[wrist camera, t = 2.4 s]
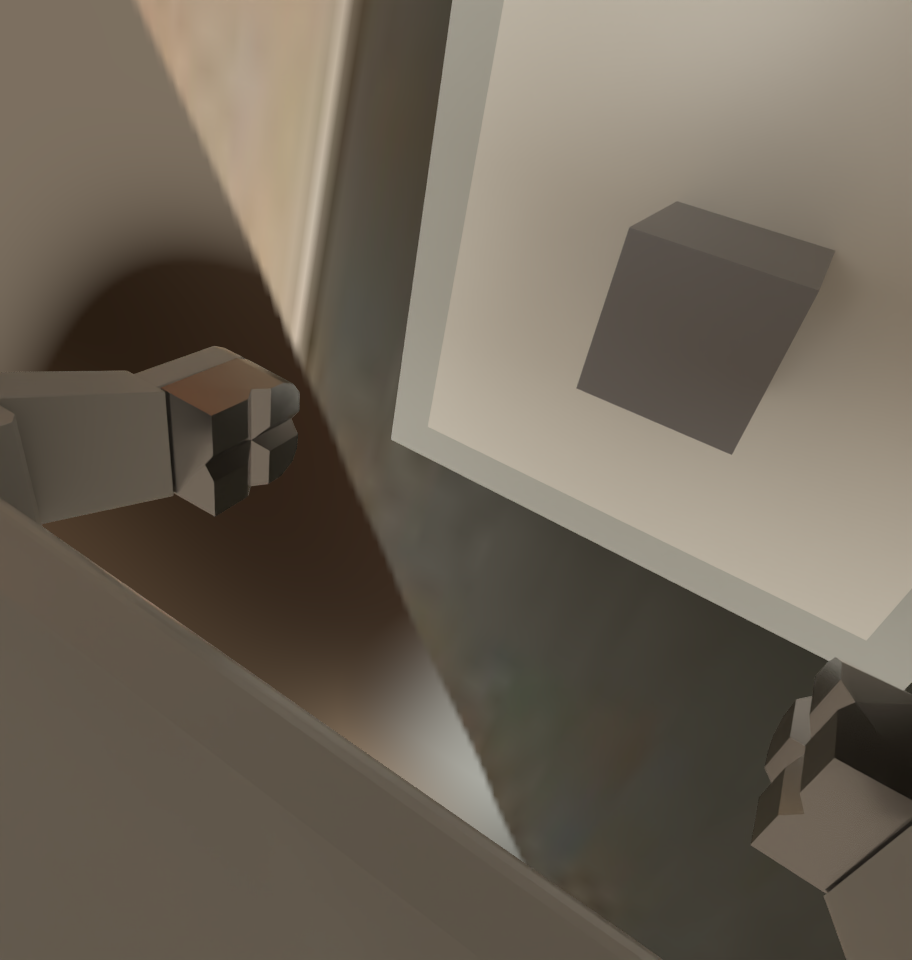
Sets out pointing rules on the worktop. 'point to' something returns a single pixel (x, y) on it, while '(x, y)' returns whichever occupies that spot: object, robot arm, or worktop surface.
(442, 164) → the mat
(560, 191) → the cover sheet
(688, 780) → the worktop surface
